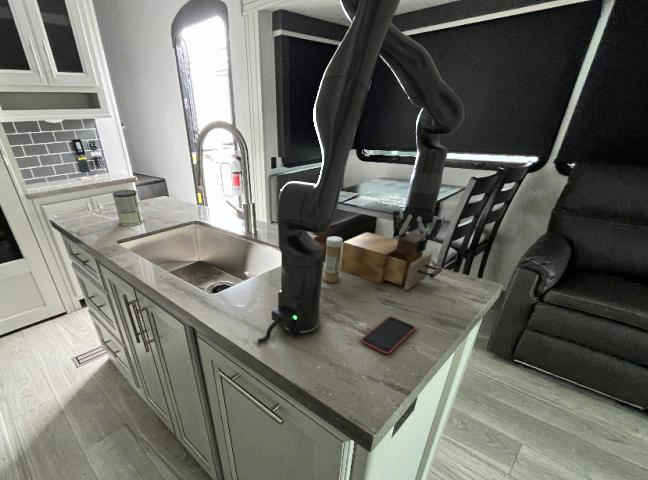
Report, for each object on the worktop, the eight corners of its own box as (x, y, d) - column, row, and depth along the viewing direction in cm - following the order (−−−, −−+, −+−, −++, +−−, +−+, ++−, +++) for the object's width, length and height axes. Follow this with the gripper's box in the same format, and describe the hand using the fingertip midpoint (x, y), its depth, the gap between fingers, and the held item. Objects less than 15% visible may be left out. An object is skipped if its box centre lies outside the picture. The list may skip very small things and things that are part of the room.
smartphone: (359, 339, 73) (389, 315, 81) (359, 341, 73) (389, 317, 81) (388, 354, 68) (417, 326, 77) (387, 356, 69) (416, 328, 77)
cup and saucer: (338, 263, 111) (339, 246, 108) (303, 259, 114) (304, 243, 111) (340, 250, 121) (342, 234, 118) (309, 247, 124) (310, 232, 120)
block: (424, 249, 95) (427, 236, 93) (412, 256, 90) (415, 243, 88) (408, 244, 98) (411, 232, 96) (395, 251, 93) (398, 238, 91)
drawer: (442, 281, 97) (449, 257, 93) (425, 296, 89) (431, 270, 85) (386, 263, 108) (390, 241, 104) (366, 275, 101) (370, 252, 97)
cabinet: (401, 270, 106) (407, 242, 101) (380, 284, 98) (385, 254, 93) (362, 258, 115) (366, 232, 110) (340, 269, 107) (343, 242, 102)
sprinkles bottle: (341, 280, 100) (346, 239, 93) (330, 284, 97) (334, 242, 91) (331, 275, 103) (335, 234, 96) (320, 278, 101) (323, 237, 94)
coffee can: (117, 222, 154) (109, 191, 147) (138, 218, 160) (132, 188, 153) (124, 227, 148) (116, 195, 140) (146, 222, 153) (139, 192, 146)
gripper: (457, 190, 83) (440, 252, 92) (404, 183, 92) (393, 240, 100) (446, 195, 79) (429, 259, 87) (391, 187, 87) (381, 246, 96)
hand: (410, 249), depth 94 cm, fingers closed on block, 5 cm apart
